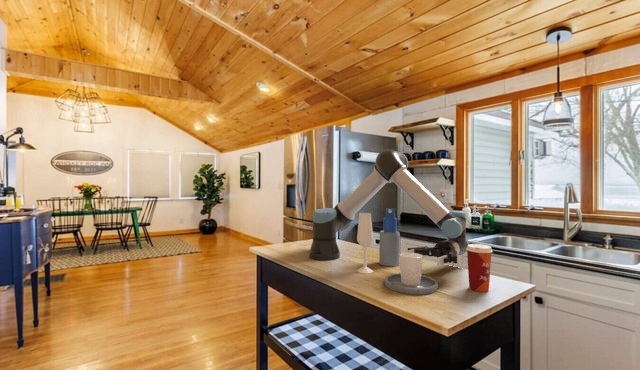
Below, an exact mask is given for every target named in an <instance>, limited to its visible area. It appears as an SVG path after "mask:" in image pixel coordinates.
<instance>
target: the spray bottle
mask: <svg viewBox="0 0 640 370" xmlns="http://www.w3.org/2000/svg"><path fill="white" fill-rule="evenodd" d="M395 211H396V210H395V208H387V207H386V208H385V215H384V217H383V218H382V219H383V220H382V221H383V229H382V230H380V231H379V258H378V259H379V260H378V265H381V266H386V267H398V266H400V254H401V253H400V250H401V249H400V245H401V239H400V238H401V234H400V231H399V230H398V228H397V226H398V225H397V224H398V218H397V217H396V213H395Z"/></svg>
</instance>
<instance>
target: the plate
mask: <svg viewBox="0 0 640 370" xmlns="http://www.w3.org/2000/svg"><path fill="white" fill-rule="evenodd" d="M400 273H401V272H398V273H391V274H389V275H386V276H385V278H384V285H385V287H386V288H388V289H389V290H391V291H393V292H397V293H401V294H405V295H415V296H416V295H417V296H419V295H429V294H430V295H431V294H434V293H436V292H437V291H438V288H439V284H438V280H436V279H434V278H432V277H431V276H429V275H423V274H421V284H420V285H416V286H410V285H405V284H403V283H401V274H400Z"/></svg>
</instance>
